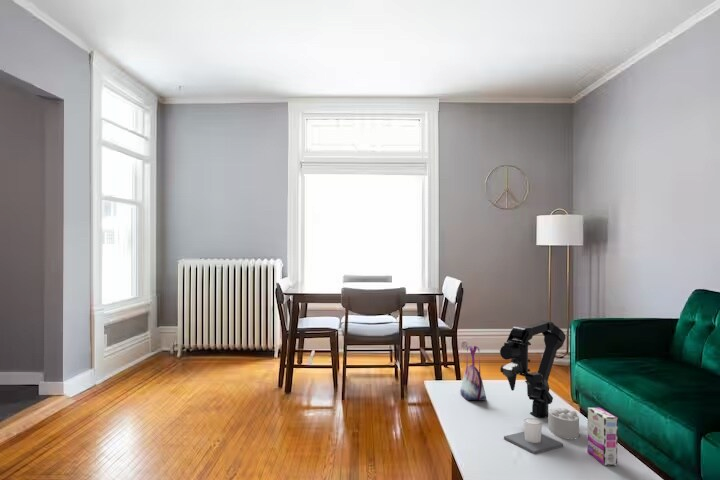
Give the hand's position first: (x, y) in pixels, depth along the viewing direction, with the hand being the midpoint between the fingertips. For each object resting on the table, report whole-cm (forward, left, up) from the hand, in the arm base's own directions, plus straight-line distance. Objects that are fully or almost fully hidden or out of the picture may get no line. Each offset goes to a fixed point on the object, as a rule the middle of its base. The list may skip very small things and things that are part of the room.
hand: (520, 393), depth 205 cm
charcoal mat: (+12, +18, -12) cm, 25 cm away
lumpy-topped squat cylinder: (-7, +16, -12) cm, 22 cm away
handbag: (-4, -35, -12) cm, 37 cm away
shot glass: (+12, +18, -11) cm, 24 cm away
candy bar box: (+1, +39, -12) cm, 41 cm away
